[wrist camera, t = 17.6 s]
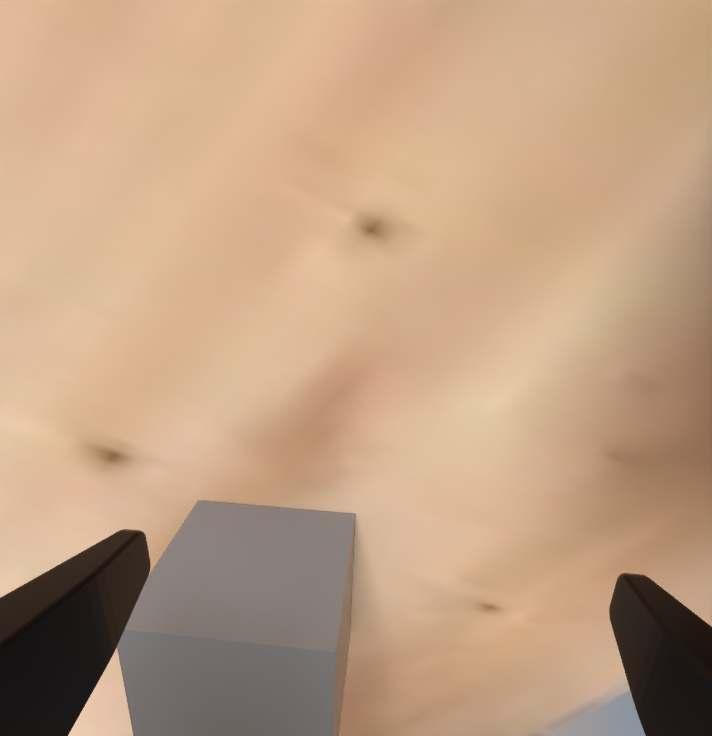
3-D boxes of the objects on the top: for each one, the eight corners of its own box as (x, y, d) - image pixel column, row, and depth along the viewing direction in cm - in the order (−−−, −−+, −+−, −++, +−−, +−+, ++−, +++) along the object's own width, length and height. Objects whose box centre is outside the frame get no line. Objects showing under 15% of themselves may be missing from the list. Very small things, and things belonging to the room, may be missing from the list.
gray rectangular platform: (355, 513, 23) (335, 652, 16) (350, 634, 25) (331, 797, 18) (198, 500, 23) (113, 628, 16) (209, 619, 26) (140, 772, 19)
